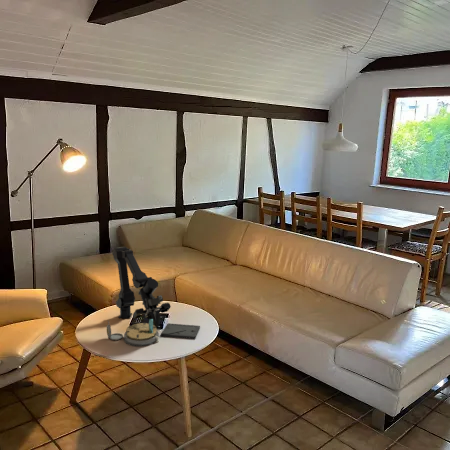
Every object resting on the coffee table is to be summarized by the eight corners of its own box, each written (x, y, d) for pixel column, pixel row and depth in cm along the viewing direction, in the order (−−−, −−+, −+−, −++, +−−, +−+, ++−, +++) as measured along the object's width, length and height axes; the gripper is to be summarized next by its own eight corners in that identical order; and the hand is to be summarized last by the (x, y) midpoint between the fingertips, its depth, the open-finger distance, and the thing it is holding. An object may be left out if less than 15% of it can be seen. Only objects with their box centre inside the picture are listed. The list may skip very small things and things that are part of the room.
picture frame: (160, 337, 229) (195, 340, 227) (160, 333, 229) (195, 336, 227) (167, 326, 242) (200, 329, 240) (167, 322, 242) (200, 325, 239)
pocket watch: (125, 337, 227) (125, 318, 225) (113, 343, 220) (113, 324, 218) (113, 333, 231) (113, 314, 229) (101, 339, 224) (101, 320, 222)
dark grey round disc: (128, 331, 234) (128, 326, 234) (161, 331, 234) (161, 327, 234) (120, 346, 218) (120, 341, 217) (157, 346, 218) (157, 341, 217)
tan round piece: (153, 326, 235) (152, 308, 233) (159, 338, 222) (159, 319, 220) (123, 330, 230) (123, 312, 228) (128, 342, 216) (128, 324, 214)
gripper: (134, 294, 219) (144, 323, 212) (169, 287, 229) (179, 315, 223) (128, 304, 227) (138, 332, 220) (162, 297, 237) (172, 324, 230)
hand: (157, 326), depth 223 cm, fingers closed
